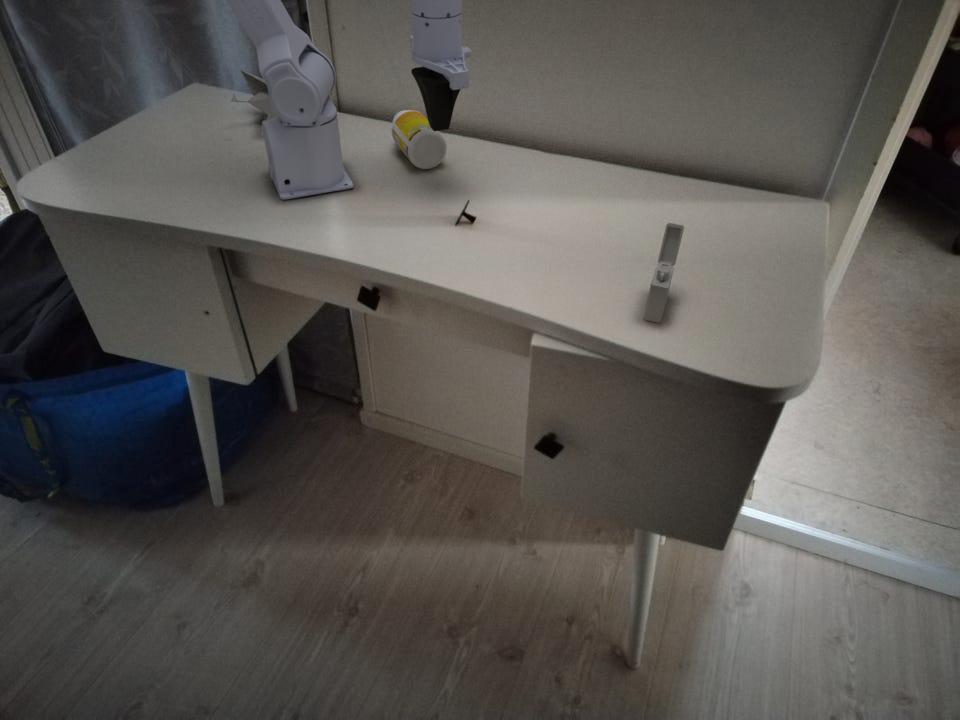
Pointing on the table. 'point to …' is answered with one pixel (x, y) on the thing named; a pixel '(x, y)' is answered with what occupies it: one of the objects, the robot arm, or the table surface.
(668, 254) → the lighter
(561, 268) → the table surface
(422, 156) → the supplement bottle
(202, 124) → the table surface
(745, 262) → the table surface
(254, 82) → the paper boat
